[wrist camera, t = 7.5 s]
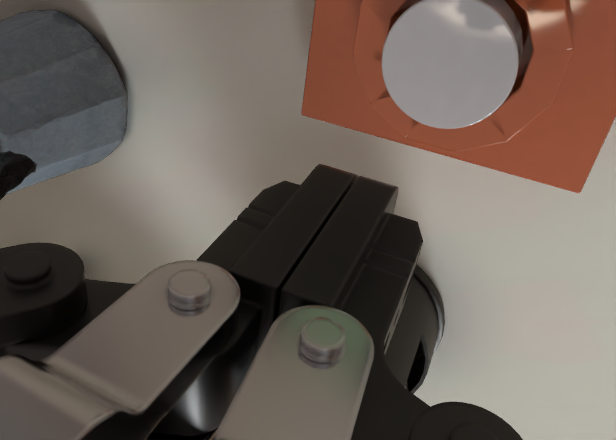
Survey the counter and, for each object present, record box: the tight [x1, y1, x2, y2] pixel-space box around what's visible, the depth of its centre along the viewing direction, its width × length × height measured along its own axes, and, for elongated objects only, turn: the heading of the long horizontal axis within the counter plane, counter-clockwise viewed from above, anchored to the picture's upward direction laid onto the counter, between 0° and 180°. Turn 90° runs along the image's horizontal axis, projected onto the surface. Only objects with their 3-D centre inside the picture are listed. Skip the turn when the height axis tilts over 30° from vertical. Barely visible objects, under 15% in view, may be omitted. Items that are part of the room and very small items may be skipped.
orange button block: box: [301, 0, 616, 193], centre depth 22 cm, size 12×10×4 cm
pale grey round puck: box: [382, 0, 523, 129], centre depth 19 cm, size 4×4×2 cm
